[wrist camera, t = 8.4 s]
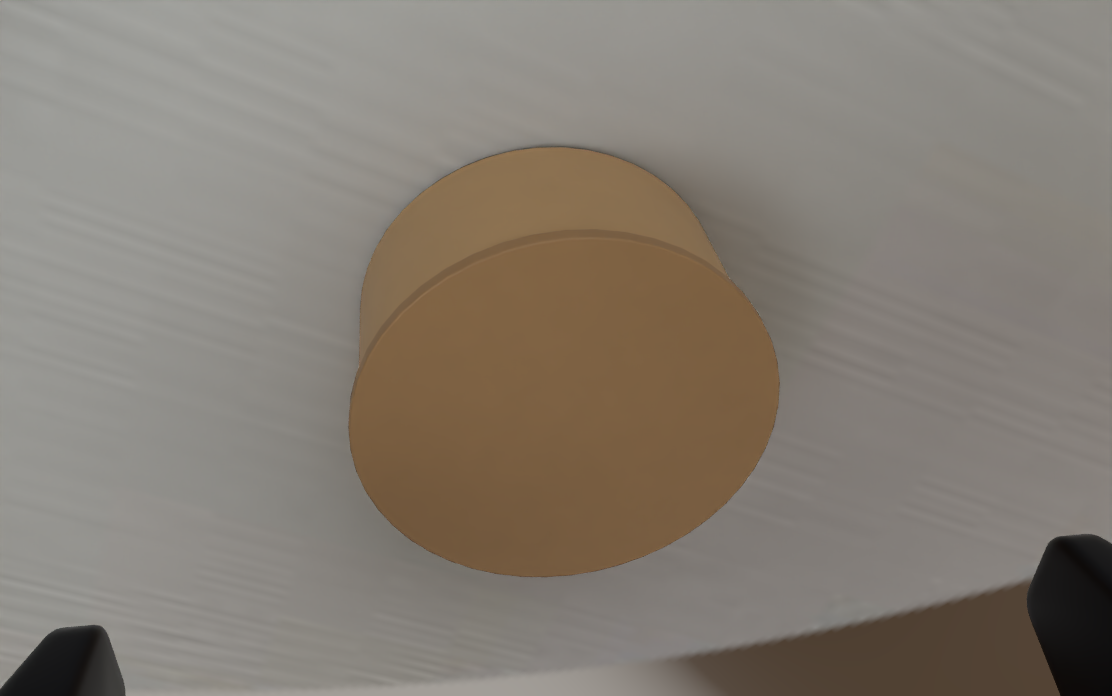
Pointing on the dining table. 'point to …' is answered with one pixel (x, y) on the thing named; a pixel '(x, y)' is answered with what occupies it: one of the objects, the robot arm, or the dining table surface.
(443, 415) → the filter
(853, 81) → the dining table surface
